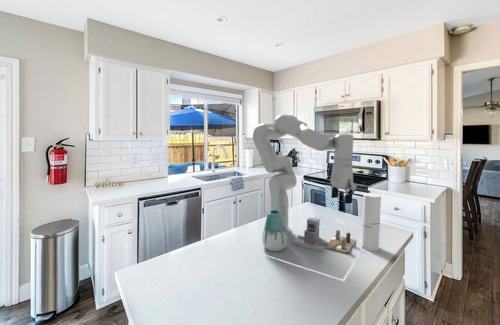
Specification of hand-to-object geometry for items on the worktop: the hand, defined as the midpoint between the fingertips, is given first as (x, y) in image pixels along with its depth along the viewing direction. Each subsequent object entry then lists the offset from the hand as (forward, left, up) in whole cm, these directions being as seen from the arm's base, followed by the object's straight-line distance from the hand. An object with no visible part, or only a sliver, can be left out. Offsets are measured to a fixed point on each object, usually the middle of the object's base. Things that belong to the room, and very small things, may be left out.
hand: (341, 200), depth 110 cm
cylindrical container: (+11, +10, -24) cm, 28 cm away
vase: (-25, -16, -24) cm, 38 cm away
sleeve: (-12, -4, -23) cm, 26 cm away
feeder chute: (-13, -4, -23) cm, 27 cm away
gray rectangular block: (-15, +5, -23) cm, 28 cm away
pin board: (-1, +4, -23) cm, 24 cm away
